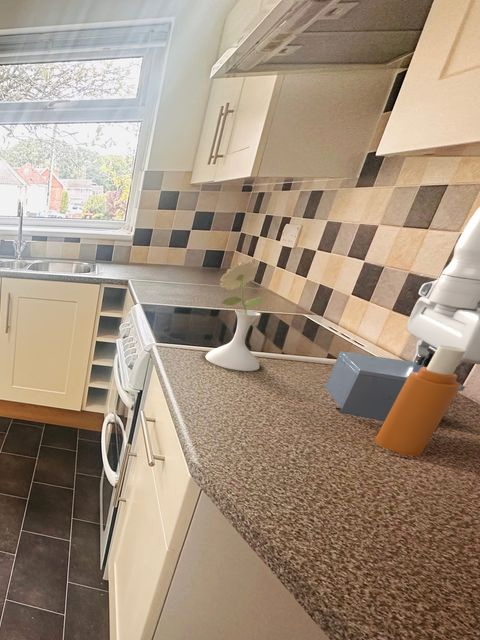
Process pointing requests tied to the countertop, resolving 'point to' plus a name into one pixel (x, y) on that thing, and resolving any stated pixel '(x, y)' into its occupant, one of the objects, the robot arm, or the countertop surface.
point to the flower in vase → (236, 351)
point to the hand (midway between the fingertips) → (428, 370)
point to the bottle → (421, 404)
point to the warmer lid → (385, 365)
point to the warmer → (362, 392)
